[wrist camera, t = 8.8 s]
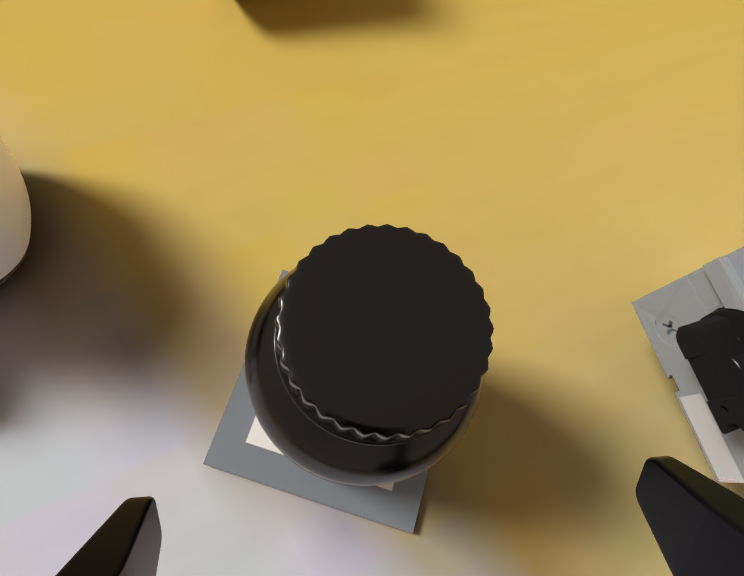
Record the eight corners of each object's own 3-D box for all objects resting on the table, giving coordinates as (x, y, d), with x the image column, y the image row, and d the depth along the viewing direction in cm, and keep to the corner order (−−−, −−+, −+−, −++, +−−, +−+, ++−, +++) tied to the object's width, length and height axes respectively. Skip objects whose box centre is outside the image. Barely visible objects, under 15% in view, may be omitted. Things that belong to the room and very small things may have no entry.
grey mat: (410, 532, 21) (413, 533, 21) (204, 463, 21) (202, 463, 20) (461, 333, 24) (464, 330, 24) (282, 272, 24) (282, 269, 24)
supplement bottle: (264, 323, 23) (224, 184, 11) (413, 316, 24) (511, 181, 12) (266, 486, 20) (221, 512, 9) (430, 471, 21) (569, 477, 10)
